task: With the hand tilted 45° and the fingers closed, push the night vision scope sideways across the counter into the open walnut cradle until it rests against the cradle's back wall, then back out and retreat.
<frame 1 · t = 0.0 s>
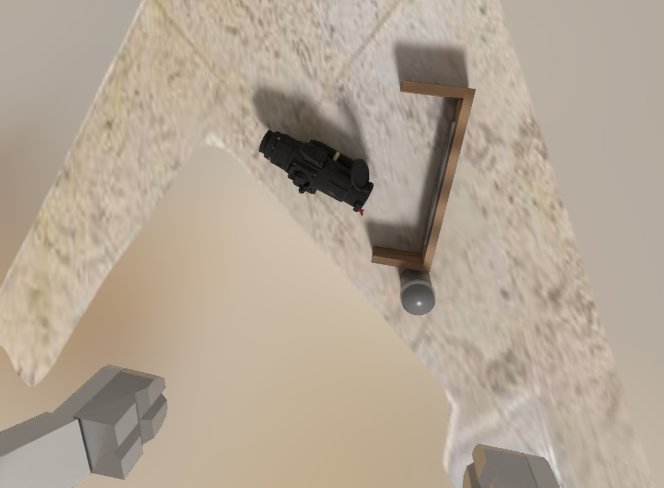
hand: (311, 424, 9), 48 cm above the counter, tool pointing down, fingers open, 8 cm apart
cradle: (415, 179, 53), on the counter
gray domed cylinder: (415, 280, 59), on the counter
night vision scope: (323, 166, 55), on the counter
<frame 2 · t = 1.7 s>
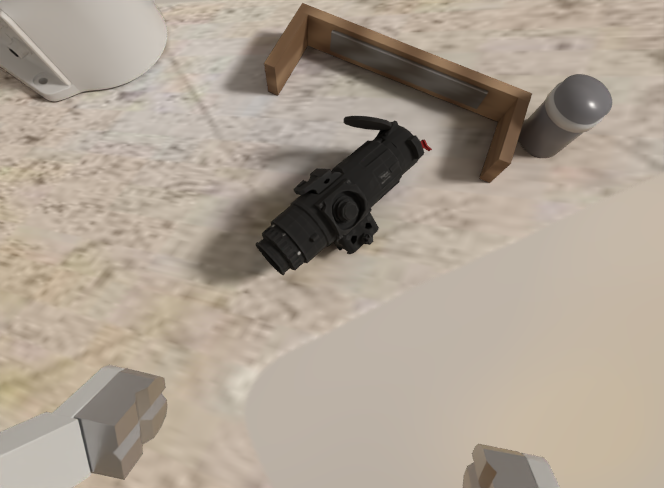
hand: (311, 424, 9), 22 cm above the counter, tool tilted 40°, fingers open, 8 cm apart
cradle: (391, 105, 39), on the counter
gray domed cylinder: (539, 138, 39), on the counter
night vision scope: (339, 212, 35), on the counter
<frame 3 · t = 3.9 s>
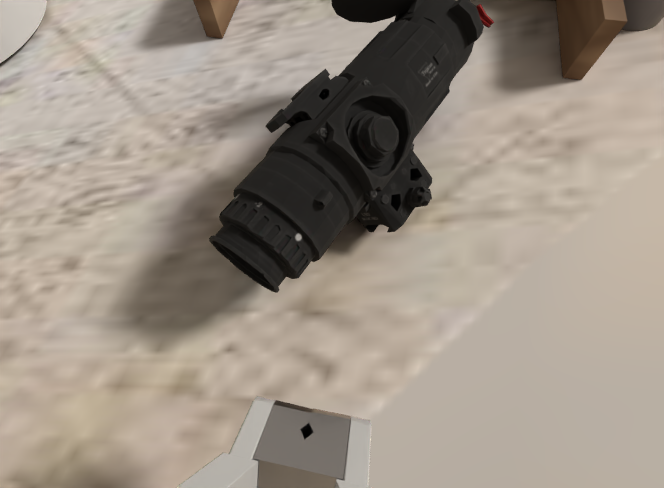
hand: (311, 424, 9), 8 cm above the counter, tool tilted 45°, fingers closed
cradle: (392, 14, 26), on the counter
gray domed cylinder: (625, 7, 26), on the counter
night vision scope: (356, 174, 21), on the counter
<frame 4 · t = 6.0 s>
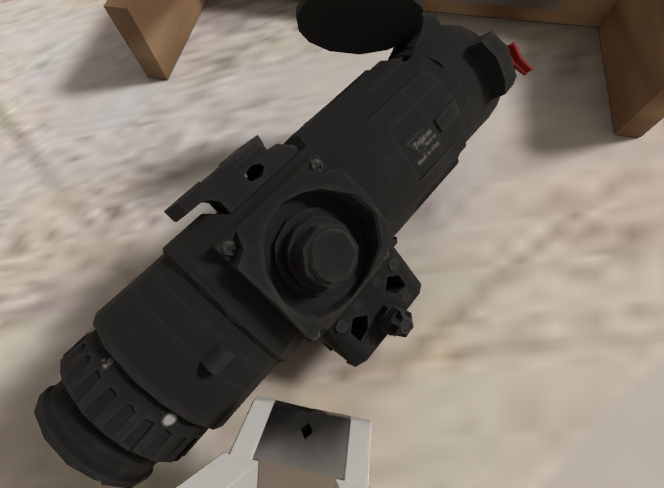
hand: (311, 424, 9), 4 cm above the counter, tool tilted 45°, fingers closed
cradle: (387, 46, 20), on the counter
night vision scope: (324, 253, 16), on the counter, touching gripper
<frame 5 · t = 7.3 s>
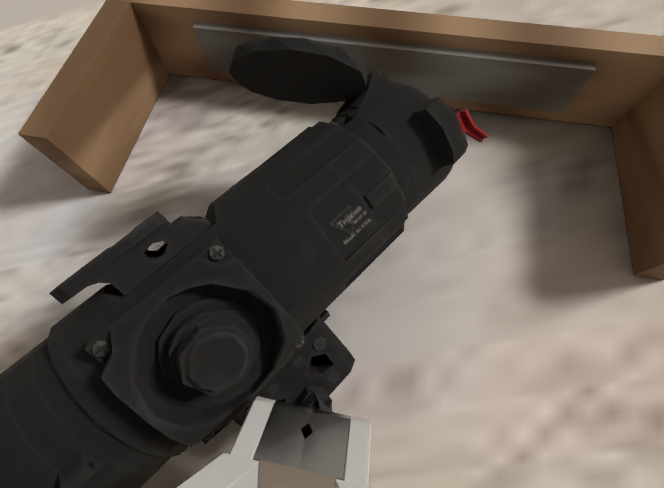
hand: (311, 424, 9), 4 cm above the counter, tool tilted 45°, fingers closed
cradle: (368, 151, 17), on the counter
night vision scope: (268, 307, 15), on the counter, touching gripper
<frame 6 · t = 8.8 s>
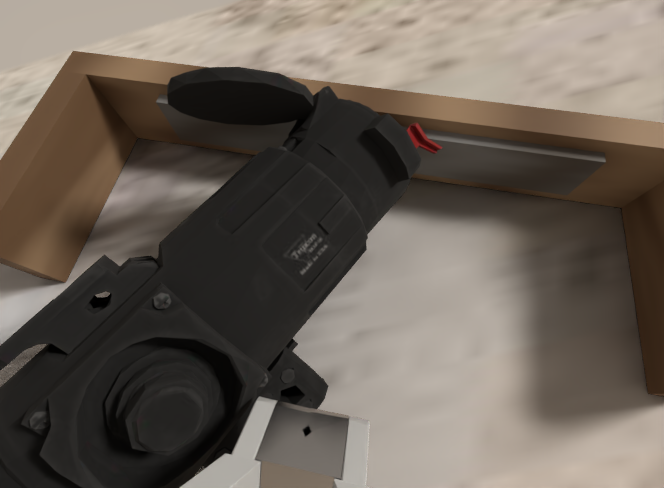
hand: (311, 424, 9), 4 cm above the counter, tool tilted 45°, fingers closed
cradle: (351, 234, 16), on the counter
night vision scope: (239, 336, 14), on the counter, touching gripper
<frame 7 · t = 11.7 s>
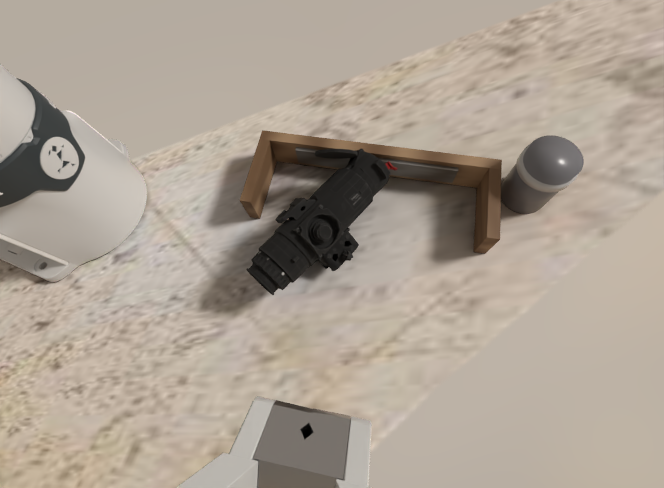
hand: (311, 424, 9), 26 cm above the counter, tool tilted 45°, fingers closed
cradle: (368, 199, 40), on the counter
gray domed cylinder: (521, 194, 39), on the counter
night vision scope: (325, 234, 39), on the counter
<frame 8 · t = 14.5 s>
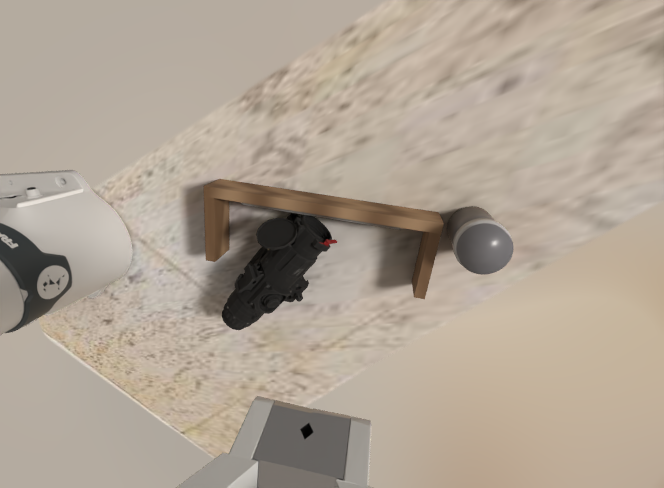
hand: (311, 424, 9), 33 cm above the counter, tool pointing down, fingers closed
cradle: (321, 232, 43), on the counter
gray domed cylinder: (469, 227, 40), on the counter
night vision scope: (284, 260, 45), on the counter
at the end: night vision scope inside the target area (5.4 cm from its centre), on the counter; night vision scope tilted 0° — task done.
